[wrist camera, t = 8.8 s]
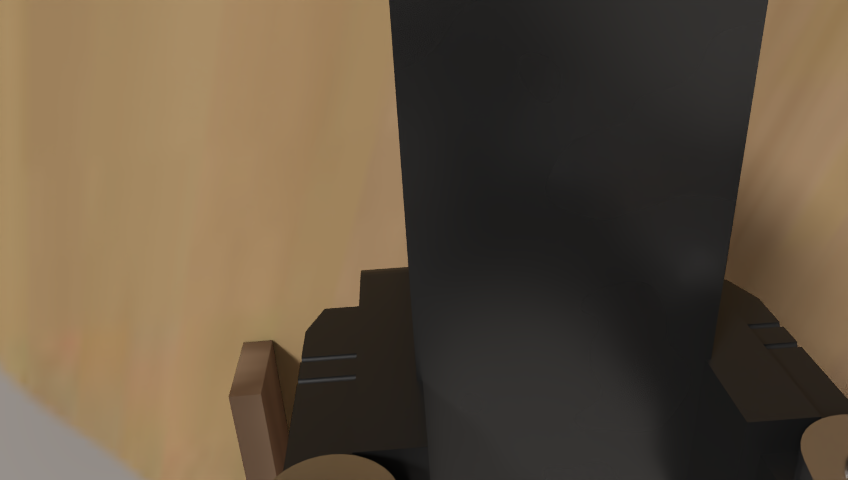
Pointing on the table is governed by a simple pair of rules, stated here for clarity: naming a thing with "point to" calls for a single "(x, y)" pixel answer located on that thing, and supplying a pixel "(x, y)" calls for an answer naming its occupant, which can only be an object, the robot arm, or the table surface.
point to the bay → (259, 412)
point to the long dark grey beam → (568, 224)
